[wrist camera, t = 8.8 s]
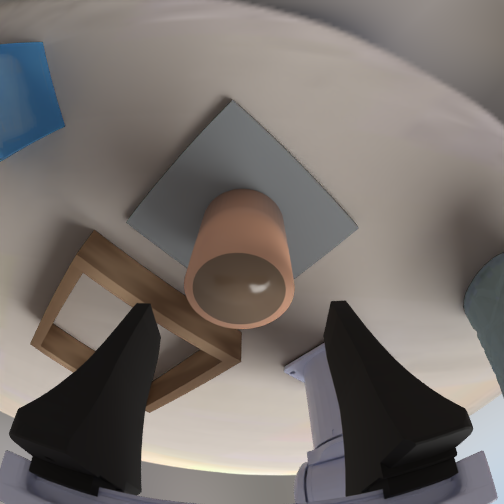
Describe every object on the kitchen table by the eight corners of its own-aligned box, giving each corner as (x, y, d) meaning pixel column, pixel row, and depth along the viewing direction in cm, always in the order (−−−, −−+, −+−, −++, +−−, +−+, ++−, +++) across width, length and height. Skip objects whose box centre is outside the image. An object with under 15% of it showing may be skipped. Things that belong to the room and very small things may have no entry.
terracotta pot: (300, 231, 19) (315, 296, 14) (239, 273, 21) (235, 342, 16) (247, 171, 17) (243, 222, 12) (185, 223, 19) (162, 286, 14)
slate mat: (356, 224, 20) (358, 228, 19) (249, 307, 24) (249, 312, 23) (232, 99, 15) (232, 100, 15) (128, 218, 19) (126, 222, 19)
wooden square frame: (241, 332, 25) (241, 361, 23) (154, 389, 30) (149, 412, 28) (94, 229, 20) (76, 254, 17) (42, 322, 25) (30, 344, 22)
